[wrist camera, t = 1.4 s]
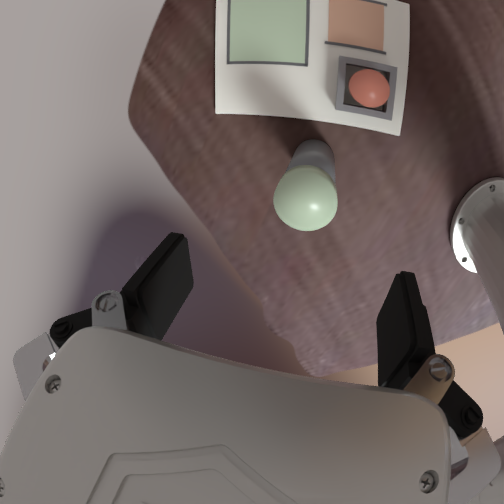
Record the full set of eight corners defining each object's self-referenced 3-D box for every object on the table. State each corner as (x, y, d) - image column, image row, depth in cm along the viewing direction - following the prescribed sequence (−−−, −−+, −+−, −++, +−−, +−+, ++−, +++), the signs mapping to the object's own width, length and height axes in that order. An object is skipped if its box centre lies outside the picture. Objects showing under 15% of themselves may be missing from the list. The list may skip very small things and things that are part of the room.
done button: (385, 74, 18) (391, 74, 16) (382, 108, 20) (387, 111, 18) (349, 67, 18) (351, 65, 16) (346, 101, 20) (348, 103, 18)
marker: (337, 141, 24) (342, 178, 16) (332, 181, 27) (331, 235, 19) (294, 135, 25) (275, 168, 17) (291, 175, 28) (271, 225, 19)
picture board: (408, 5, 14) (415, -1, 12) (398, 135, 22) (404, 140, 20) (218, -10, 17) (208, -16, 15) (217, 112, 26) (207, 116, 24)
